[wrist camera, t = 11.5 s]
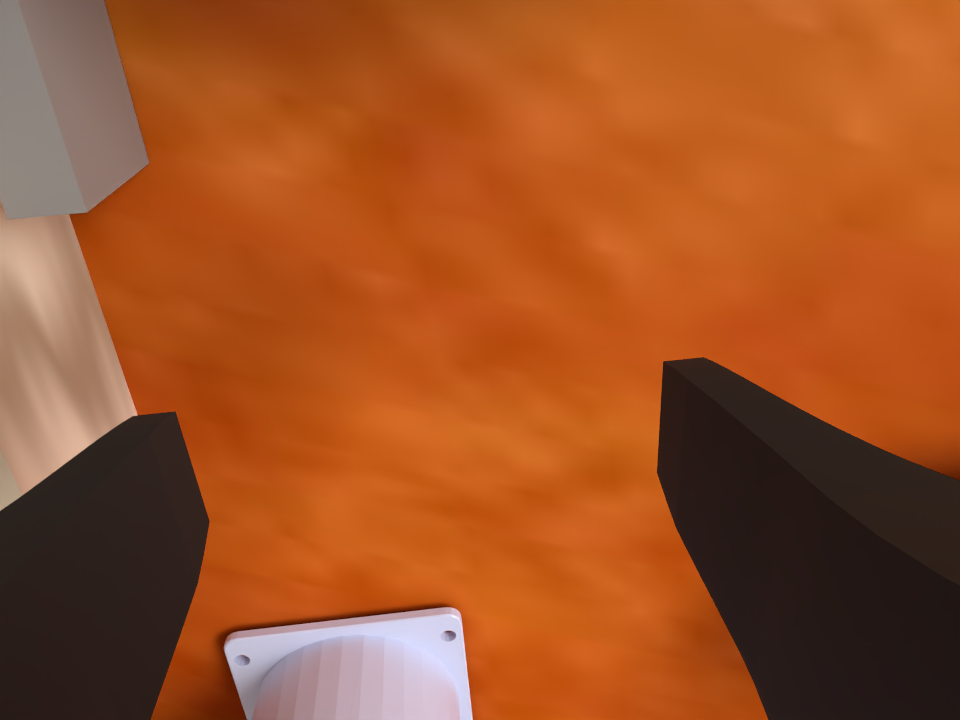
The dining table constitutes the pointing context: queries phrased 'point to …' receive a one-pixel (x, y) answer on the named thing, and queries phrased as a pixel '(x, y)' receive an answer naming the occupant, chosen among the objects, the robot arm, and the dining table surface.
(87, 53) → the grey stepped block
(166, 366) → the dining table surface
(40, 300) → the birch rail
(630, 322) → the dining table surface
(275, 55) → the dining table surface
